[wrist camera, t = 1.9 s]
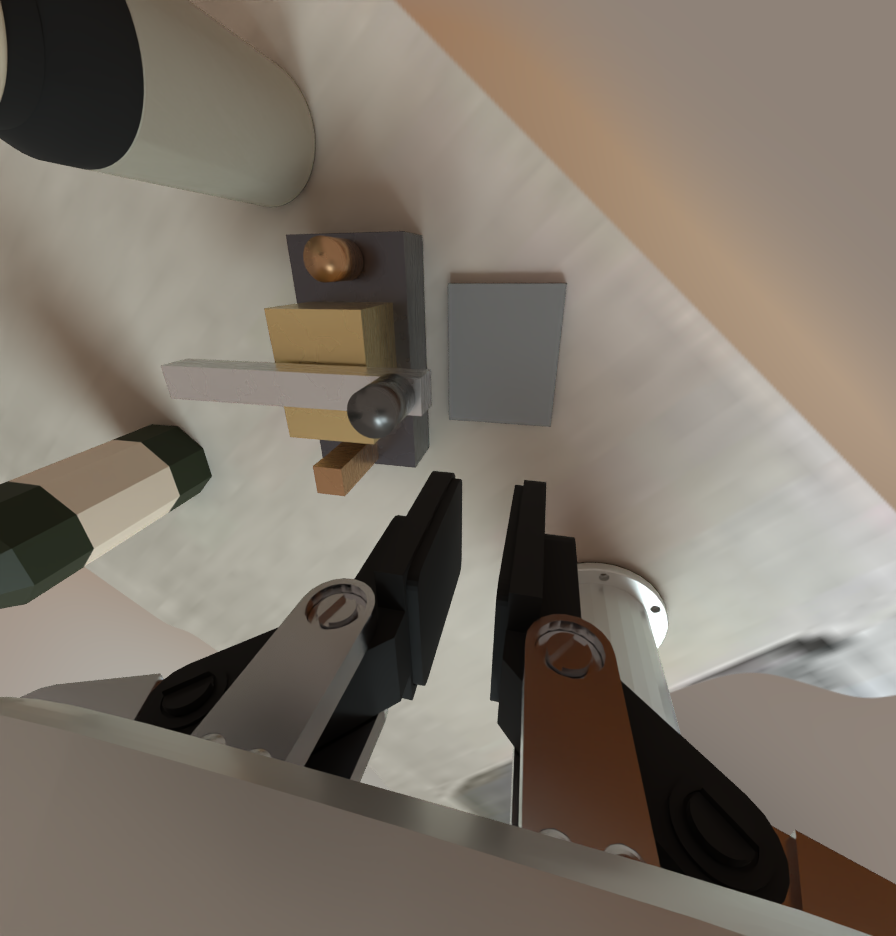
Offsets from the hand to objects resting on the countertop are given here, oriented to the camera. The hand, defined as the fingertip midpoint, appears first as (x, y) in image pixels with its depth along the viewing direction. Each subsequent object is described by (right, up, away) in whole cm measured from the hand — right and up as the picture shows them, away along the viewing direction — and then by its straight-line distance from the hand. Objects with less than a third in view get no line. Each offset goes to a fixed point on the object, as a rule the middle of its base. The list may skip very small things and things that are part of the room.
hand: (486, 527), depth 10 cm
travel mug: (-13, +24, +17) cm, 32 cm away
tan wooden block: (-8, +9, +18) cm, 22 cm away
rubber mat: (+3, +10, +20) cm, 22 cm away
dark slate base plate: (-7, +11, +22) cm, 25 cm away
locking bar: (-10, +7, +14) cm, 18 cm away
